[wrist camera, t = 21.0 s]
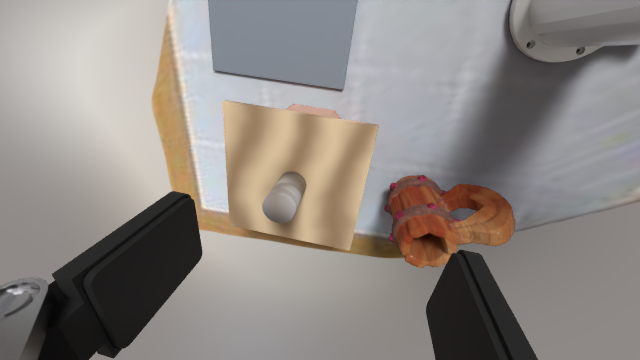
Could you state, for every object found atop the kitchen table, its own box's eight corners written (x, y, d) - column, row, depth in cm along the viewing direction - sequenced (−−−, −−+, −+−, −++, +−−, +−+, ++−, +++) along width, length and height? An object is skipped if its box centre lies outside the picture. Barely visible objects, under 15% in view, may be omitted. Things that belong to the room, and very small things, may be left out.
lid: (378, 124, 28) (381, 144, 22) (349, 245, 36) (346, 285, 30) (226, 100, 30) (189, 112, 23) (233, 221, 38) (207, 254, 32)
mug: (390, 218, 45) (401, 286, 31) (375, 180, 42) (379, 237, 29) (480, 193, 40) (537, 262, 27) (469, 148, 37) (526, 200, 24)
